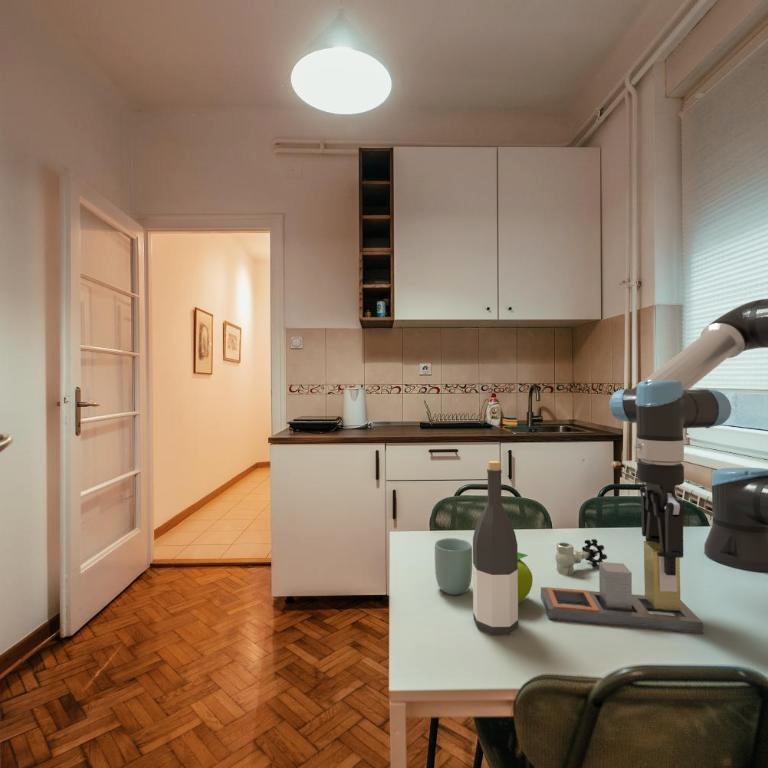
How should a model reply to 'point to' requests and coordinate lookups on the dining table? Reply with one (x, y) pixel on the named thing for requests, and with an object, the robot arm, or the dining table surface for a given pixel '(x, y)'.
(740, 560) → the robot arm
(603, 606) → the grey rectangular block
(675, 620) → the grey compartment tray
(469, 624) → the dining table surface
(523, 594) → the fruit
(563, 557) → the valve
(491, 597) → the wine bottle
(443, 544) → the cup
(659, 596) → the brass block
